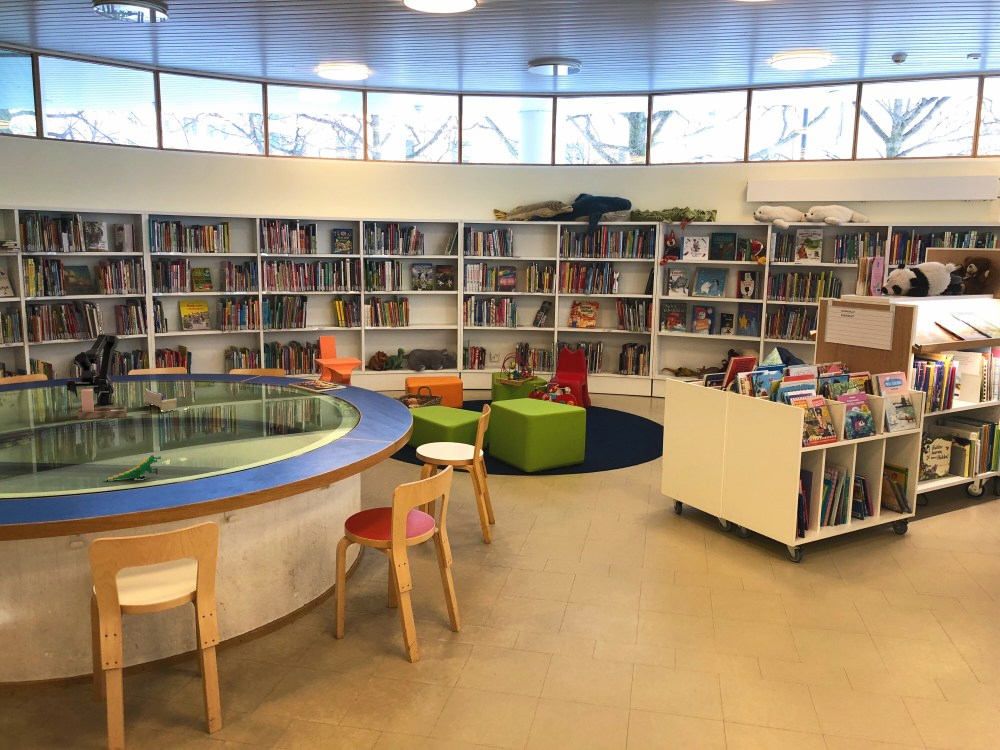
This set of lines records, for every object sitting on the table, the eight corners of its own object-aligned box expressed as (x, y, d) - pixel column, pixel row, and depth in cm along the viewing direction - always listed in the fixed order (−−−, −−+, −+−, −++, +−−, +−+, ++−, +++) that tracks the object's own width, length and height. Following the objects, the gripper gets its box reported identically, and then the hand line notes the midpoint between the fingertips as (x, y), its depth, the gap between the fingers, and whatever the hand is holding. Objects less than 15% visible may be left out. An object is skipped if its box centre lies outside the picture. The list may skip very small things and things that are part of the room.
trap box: (78, 419, 398) (77, 412, 398) (79, 415, 407) (79, 408, 407) (126, 417, 407) (126, 410, 407) (126, 413, 416) (126, 406, 416)
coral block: (82, 414, 401) (81, 390, 399) (82, 412, 405) (81, 389, 404) (93, 413, 403) (92, 390, 401) (93, 411, 407) (92, 388, 406)
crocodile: (103, 483, 299) (102, 460, 297) (104, 479, 304) (103, 456, 302) (161, 479, 307) (161, 457, 305) (161, 475, 312) (160, 453, 311)
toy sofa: (177, 411, 427) (177, 392, 426) (161, 413, 421) (161, 394, 419) (159, 404, 441) (159, 386, 439) (144, 406, 435) (143, 388, 433)
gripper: (65, 364, 402) (65, 389, 394) (106, 363, 410) (107, 388, 402) (67, 377, 411) (66, 402, 402) (107, 376, 418) (108, 400, 410)
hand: (87, 398), depth 404 cm, fingers open, 9 cm apart
